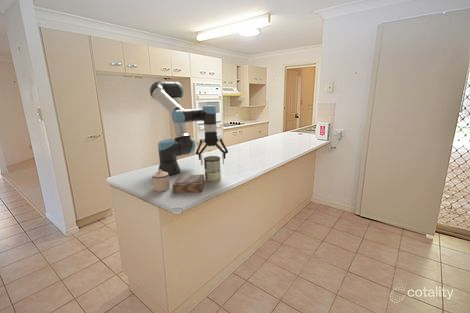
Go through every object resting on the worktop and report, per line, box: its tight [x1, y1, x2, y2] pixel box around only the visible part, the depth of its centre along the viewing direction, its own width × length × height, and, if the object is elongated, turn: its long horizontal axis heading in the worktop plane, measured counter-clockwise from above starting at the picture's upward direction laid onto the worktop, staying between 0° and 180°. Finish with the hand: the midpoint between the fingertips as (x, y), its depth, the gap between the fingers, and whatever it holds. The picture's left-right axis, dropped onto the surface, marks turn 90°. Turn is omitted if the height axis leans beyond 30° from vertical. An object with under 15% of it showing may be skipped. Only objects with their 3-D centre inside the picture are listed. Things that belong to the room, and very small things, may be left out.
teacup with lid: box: [151, 170, 171, 193], centre depth 134 cm, size 12×9×12 cm
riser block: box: [172, 173, 206, 194], centre depth 135 cm, size 16×16×5 cm
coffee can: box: [203, 155, 222, 183], centre depth 147 cm, size 10×10×14 cm
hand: (212, 164), depth 146 cm, fingers open, 13 cm apart
